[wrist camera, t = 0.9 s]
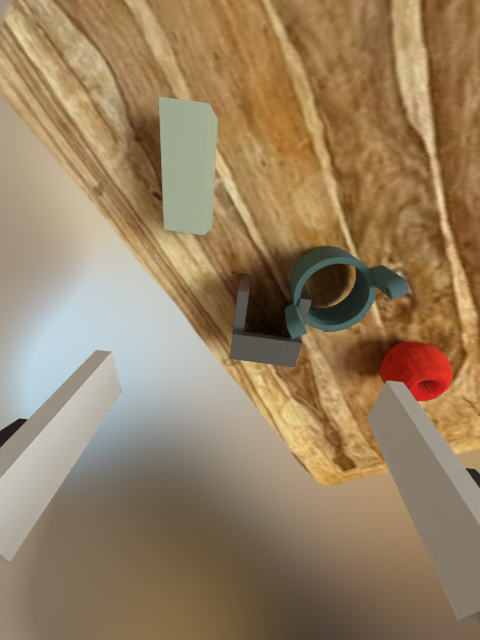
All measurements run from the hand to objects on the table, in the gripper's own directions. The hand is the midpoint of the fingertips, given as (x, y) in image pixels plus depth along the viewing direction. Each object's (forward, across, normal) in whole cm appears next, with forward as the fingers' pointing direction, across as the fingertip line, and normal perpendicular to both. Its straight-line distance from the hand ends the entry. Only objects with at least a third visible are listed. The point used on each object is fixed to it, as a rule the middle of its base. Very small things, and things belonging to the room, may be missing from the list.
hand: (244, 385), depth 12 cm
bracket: (+20, +9, -2) cm, 22 cm away
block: (+21, -7, +9) cm, 24 cm away
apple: (+21, +22, -11) cm, 32 cm away
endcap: (+20, +2, -6) cm, 21 cm away
